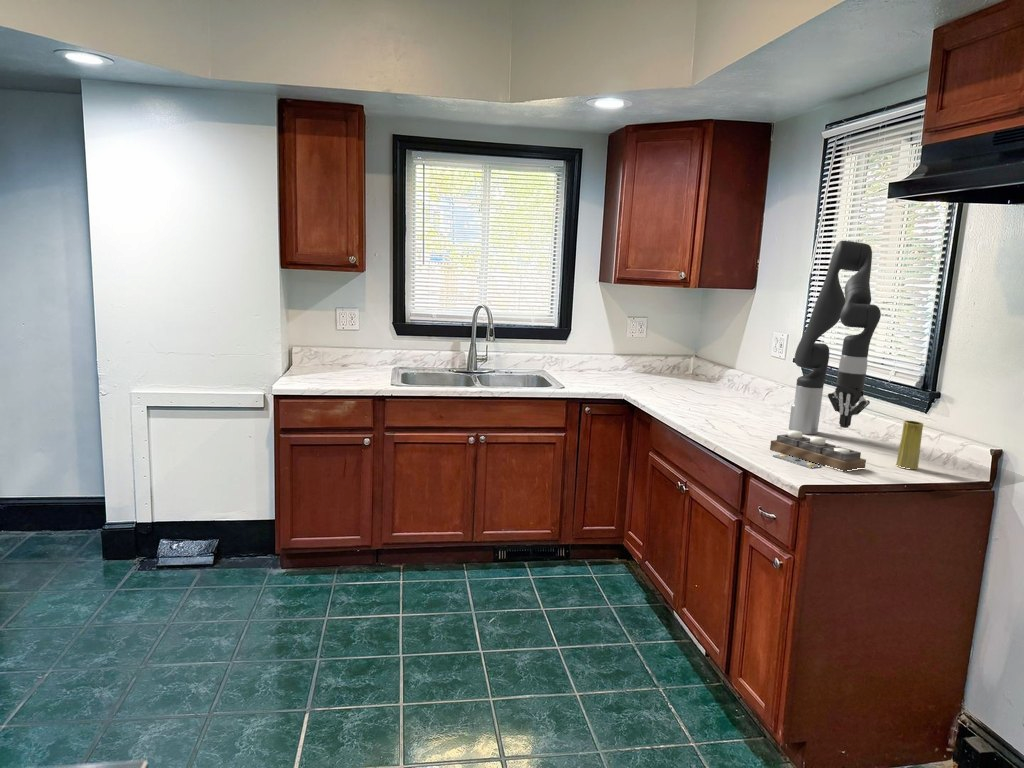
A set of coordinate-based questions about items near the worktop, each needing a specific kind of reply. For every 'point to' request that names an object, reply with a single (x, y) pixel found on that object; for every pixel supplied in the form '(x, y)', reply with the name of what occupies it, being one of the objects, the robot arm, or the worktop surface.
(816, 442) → the button middle
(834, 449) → the button right
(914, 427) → the vase
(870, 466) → the worktop surface
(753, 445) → the worktop surface
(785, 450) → the button board
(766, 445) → the worktop surface
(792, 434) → the button left
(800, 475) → the worktop surface
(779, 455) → the pattern card
